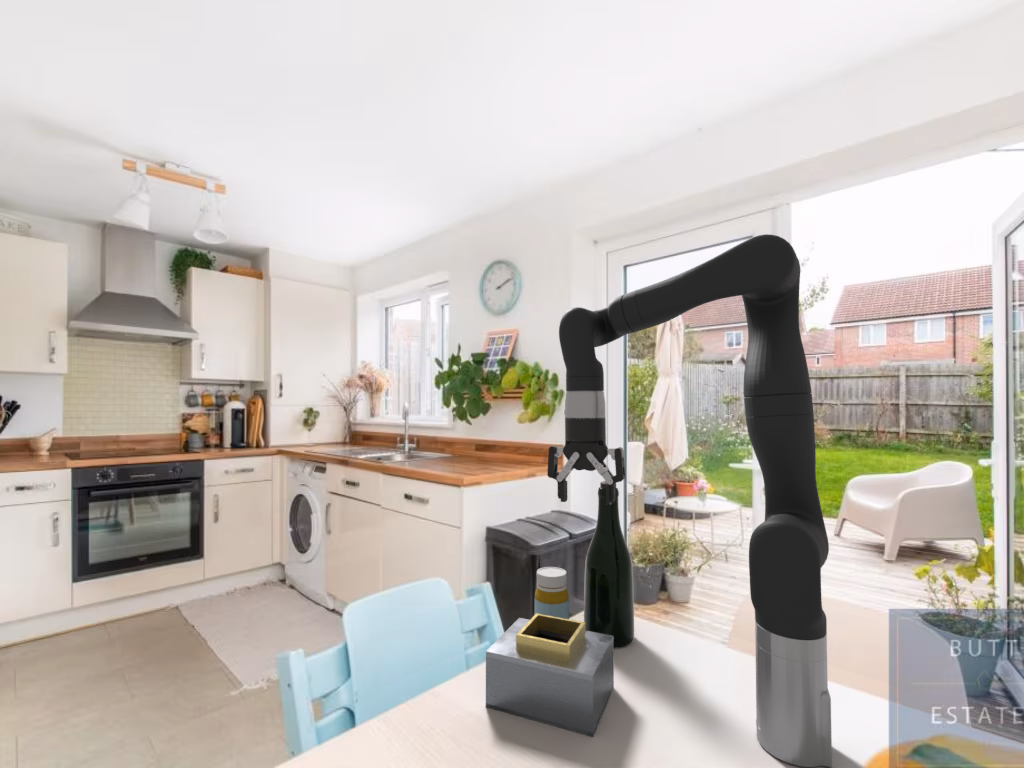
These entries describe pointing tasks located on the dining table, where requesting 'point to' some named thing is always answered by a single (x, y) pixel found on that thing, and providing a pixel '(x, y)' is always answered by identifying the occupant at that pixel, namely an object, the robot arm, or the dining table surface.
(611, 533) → the dark green wine bottle
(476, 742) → the dining table surface
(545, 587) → the bottle
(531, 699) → the grey box with opening
